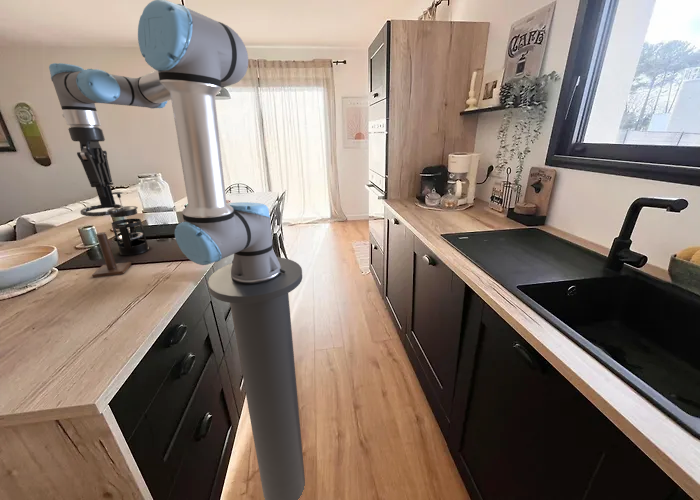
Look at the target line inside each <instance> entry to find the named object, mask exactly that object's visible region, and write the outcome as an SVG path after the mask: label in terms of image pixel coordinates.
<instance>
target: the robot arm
mask: <svg viewBox="0 0 700 500" xmlns="http://www.w3.org/2000/svg"><path fill="white" fill-rule="evenodd" d="M137 43H138V47H139V50H140V53H141V56H142V57H143V58H144V61H145V62H146V64H147V65H148V66H150V67H151V68H152V69H154V71H152V72H149V73H146V74H144V75H142V76H139V77H130V76H123V75H119V74H118V75H117V74H111V73H109V72H107V71H106V70H103V69H99V68H95V69H94V68H87V69H84V67H82V66H79V65H76V64H70V63H62V62H60V63H57V62H54V63H50V64H49V66H48V69H49V73H50V79H51V82H52V84H53V86H54V87H53V88H54V90H55V93H56V95H57V98H58V102H59V105H60V107H61V111H62V114H61V116H62V117H63V118H64V120H65V123H66V125H67V126H70V127H68V128H67V130H68V133H69V136H70V139H71V141H73V142H79V148H80V151H77V152H76V155H77V157H78V159H79V160H80V163H81V165H82V167H83V170H84V173H85V175H86V177H87V180H88V182H89V185H90V187H91V188H95V189H96V193H97V196H98V199H99V203H100V205H101V206H102V209H111V208H110V207H113V204H116V201H115V197H114V194H112V193H113V192H112V188H111V187H112V185H114V182H113V179H112V175H111V169H110V165H109V160H108V153H107V150H103V148H102V146H101V144H100V142H105V140H106V139H105V134H104V132H103V129H102V128H101V126H102V123H101V120H100V117H99V114H98V110H97V107H96V104H105V105H117V106H127V107H128V106H129V107H138V108H147V109H163V108H165V107H166V105H167V104H168V101H171V107H172V113H173V119H174V125H175V130H176V132H175V133H176V138H177V143H178V149H179V156H180V162H181V170H182V174H183V181H184V187H185V193H186V199H187V205H186V206H185V208H183V210H182V211H181V213H182V214H181V215H182V218H183V221H181V222H180V223H178V224H177V225H176V226H175V229H174V240H175V242H176V245H177V246H178V248H179V250H180V251H181V252H182V254H183V255H184V256H185V257H186V258H187V259H188V260H190V261H191V262H193V263H194V264H196V265H199V266H208V265H210V264H213V263H217V262H220V261H221V260H223V259H225V258H227V257H228V258H229V257H230V256H232V255H233V258H232V260H231V263H232V268H231V278H232V280H233V281H234V282H236V283H239V284H243V285H255V284H262V283H266V282H269V281H271V280H273V279H275V278H277V277H278V276H279V275H280V274H281V272H282V273H285V271H284V270H282V269H281V266H280V263H279V261H278V259H277V257H278V256H277V254H276V253H275V251H274V246H273V245H274V244H273V235H272V233H273V232H272V224H271V216H270V209H269V207H268V206H267V205H266V204H264V203H260V202H248V201H247V202H243V201H241V202H240V201H239V202H237V201H236V202H229V203H228V202H227V197H226V194H227V193H226V185H225V177H224V169H223V168H224V167H223V160H222V149H221V140H220V129H219V122H218V121H219V120H218V113H217V104H216V96H217V95H218V94H219V93H220V92H221V91H222V89H223V88H226V87H230V86H232V85H236V83H239V82H241V81H242V80H243V78H245V76H246V74H247V72H248V69H249V68H248V67H249V54H248V50H247V47H246V45H245V42H244V41H243V39H242V38H241V36H239V34H238V33H237V32H236V31H235V30H234V29H233V28H232V27H231V26H229V25H228V24H226V23H223V22H221V21H217V20H216V19H213V18H211V17H209V16H206V15H204V14H202V13H200V12H197V11H195V10H193V9H190V8H188V7H187V6H185V5H183V4H181V3H175V2H172V1H169V0H152V1H150V2H149V3H147V5H146V6H145V7H144V8H143V10H142V13H141V15H140V16H139V20H138V26H137Z"/></svg>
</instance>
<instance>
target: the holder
mask: <svg viewBox="0 0 700 500" xmlns="http://www.w3.org/2000/svg"><path fill="white" fill-rule="evenodd" d="M95 235H96V239H97V241H98V244H99V247H100V250H101V251H100V252H101V253H102V257H103V259H104V262H105V264H102V265H101V266H100V267H99V268H98V269H97V270H96V271H95V272H93V273H92V275H91V276H92V278H101V277H109V276H116V275H124V273H125V272H126V271H127V270H128V269H129V268H130V267H131V266H132V262H131V261H127V262H118V263H117V262H116V260H115V257H114V254H113V250H112V247H111V244H110V242H109V238H108V236H107V233H106V232H103V231H102V232H98V233H96V234H95Z"/></svg>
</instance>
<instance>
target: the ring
mask: <svg viewBox="0 0 700 500" xmlns="http://www.w3.org/2000/svg"><path fill="white" fill-rule="evenodd" d="M112 208H118V209H115V210H111V211H107V210H103V211H95V210H100V209H103V208H102V206H101V204H95V205H90V206H87V207H84V208H82V209H81V210H80V215H82V216H85V217H106V216H110V215H112V214H116V213H119V212H122V211H123V210H124V205H123V204H122V205H121V204H118V203H115V204H113V207H110V208H109V209H112ZM92 211H93V212H92Z"/></svg>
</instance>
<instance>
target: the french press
mask: <svg viewBox="0 0 700 500" xmlns="http://www.w3.org/2000/svg"><path fill="white" fill-rule="evenodd" d="M112 194H113V195H116V197H117V198H118V200H119V202H120V205H122V206H123V207H124V210H123V211H122V212H119V213H116V214H112V215H109V216H110V217H111V218H123V217H124V219H119V220H115V221H112V222H111V224H110V225H111V227H112V230H113V233H114V237H115V241H116V243H117V246H118V249H119V255H120V256H125V257H130V256H136V255H141V254H143V253H146V252H148V251H149V250H150V246H149V245H148V240H147V237H146V234H145V230H144V226H143V223H142V219H140V218H127V217H131V216H134V215H137V214H138V206H135V205H129V206H128V205H127V206H126V205H125V206H124V205H123V203H122V200H121V198H122V196H121V195H123V194H126V192H125V191H114V192H112ZM115 209H118V208H108V209H107V210H106V211H111V210H115ZM137 226H140V229H141V232H139V231H138V232H137V229H136V227H137ZM117 229H118V230H119V233H120V235H118V232H117ZM141 238H143V239H141ZM121 241H122V242H121Z"/></svg>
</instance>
